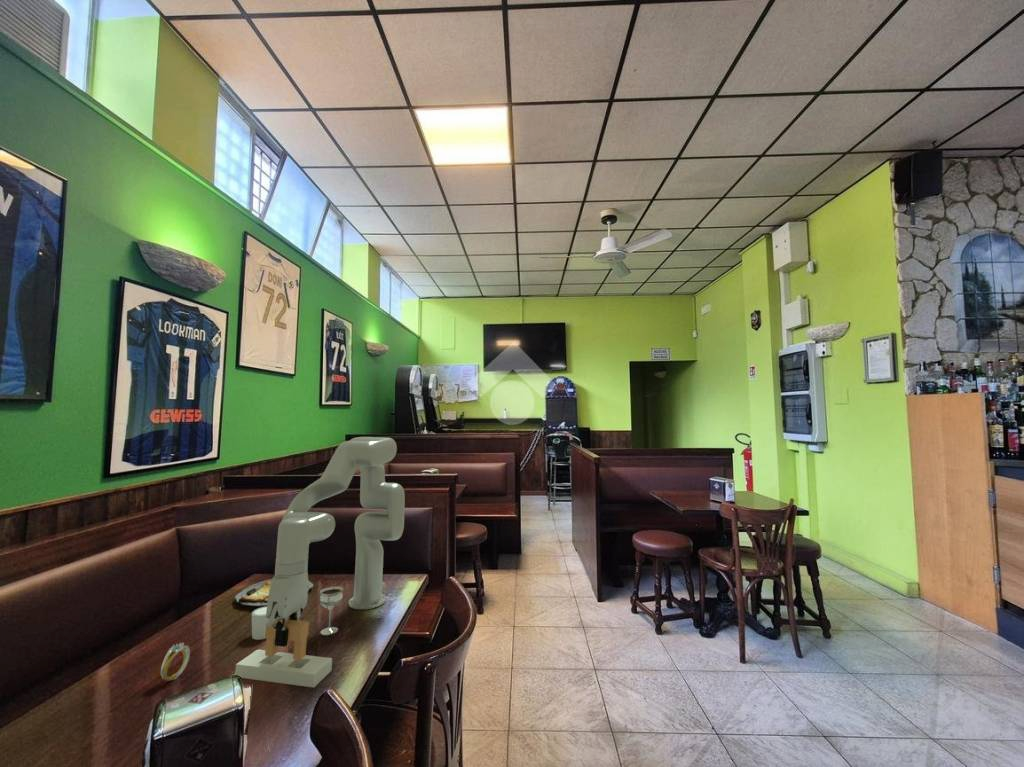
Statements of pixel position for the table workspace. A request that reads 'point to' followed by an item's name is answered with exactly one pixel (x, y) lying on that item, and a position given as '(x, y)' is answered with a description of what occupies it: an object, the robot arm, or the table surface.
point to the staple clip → (289, 638)
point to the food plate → (257, 594)
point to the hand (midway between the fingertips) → (286, 641)
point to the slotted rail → (284, 668)
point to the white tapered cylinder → (259, 623)
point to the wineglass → (330, 604)
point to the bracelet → (166, 662)
